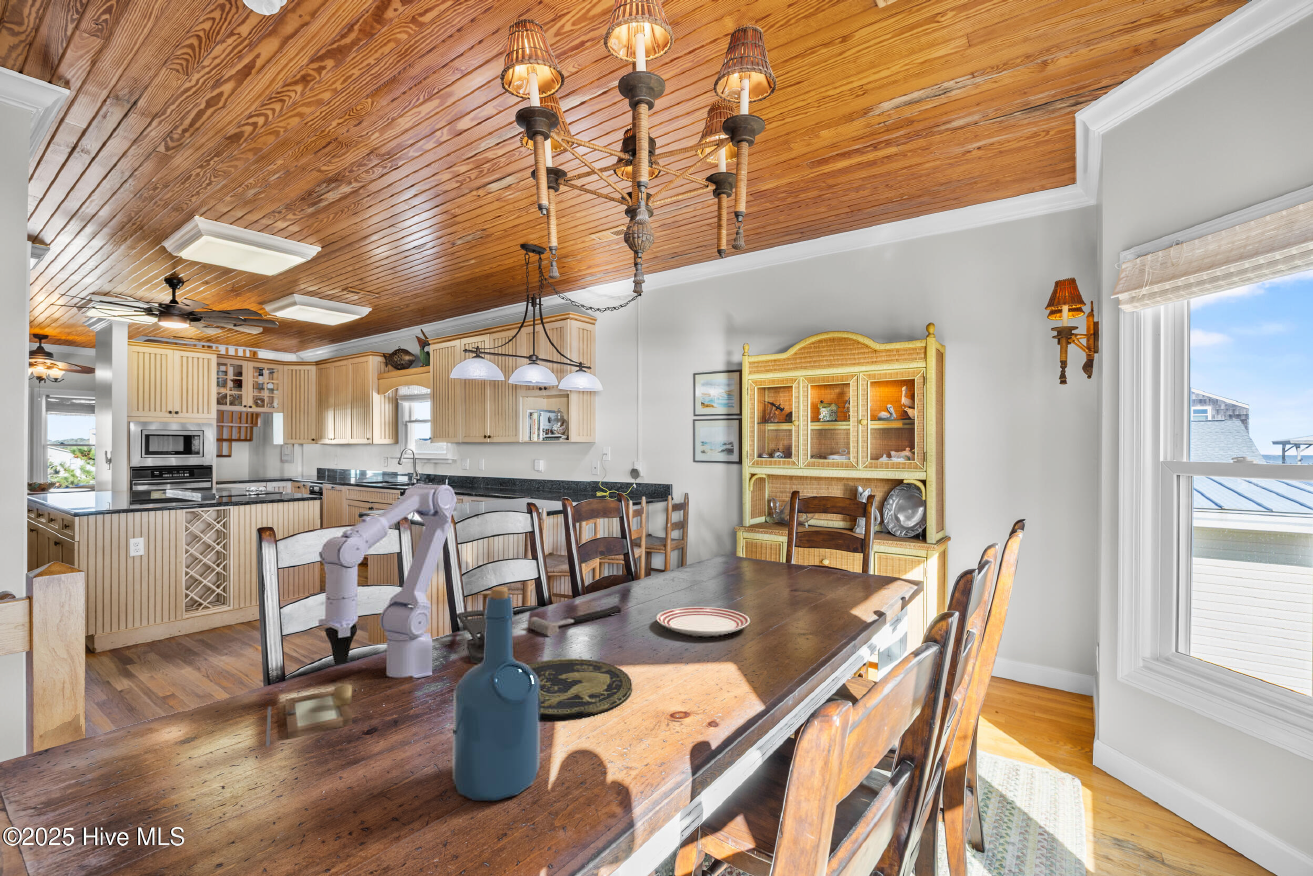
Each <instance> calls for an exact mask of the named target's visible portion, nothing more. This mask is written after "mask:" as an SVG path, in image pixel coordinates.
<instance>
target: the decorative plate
mask: <svg viewBox="0 0 1313 876" xmlns="http://www.w3.org/2000/svg"><path fill="white" fill-rule="evenodd" d="M525 664H526V663H525ZM526 665H528V666H529V667H530V668H531V669H532V670H533V671H534V673H535V674H536V675H537V676H538V678H539V681H540V683H541V705H540V722H567V721H577V720H583V719H582V718H584V719H587V718H592V717H591V716H593V717H596V716H595V715H597V716H599V715H598V714H600V715H602V713H603V714H606V713H608V712H610V711H613V710H615V709H616V707H617V708H618V706H619V707H620V706H621V705H623V704H624V703H626V701H627V700H628V699H629V698H630V697H631V696H632V695H631V694H632V692H633V684H632V683H633V682H632V679H631V677H630V676H629V674H628V673H626V672H625V671H624V670H623V669H621V668H619V667H618V666H615V665H613V664H611V663H610V664H609V663H607V662H604V661H599V660H593V659H584V658H557V659H555V658H554V659H545V660H541V661H535V662H531V663H527V664H526ZM614 708H615V709H614ZM605 712H606V713H605ZM576 719H577V720H576Z"/></svg>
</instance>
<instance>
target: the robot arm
mask: <svg viewBox="0 0 1313 876" xmlns="http://www.w3.org/2000/svg"><path fill="white" fill-rule="evenodd" d="M457 500H458V499H457V497H456V493H455V491H454V489H453V488H452V486H450V485H447V484H423V483H415V484H414V485H412V486H411V487H409V488H408V489H405V492H404V494H403V495H401V497H399V499H398V500H396V501H395V502H394V503H392V504H391V505H390V506H388V507H387V508H386V509H385V510H384V511H382V512H380V514H379V515H373V514H372V515H371V514H370V515H364V516H362V517H361V518H360V521H359V522H358V523H357V524H355V525H353V526H352V527H351V528H349V529H345V530H344V531H342V534H341V535H340V536H333V537H330V538H329V539H327V540H326V542H325V543H324V544H323V545H322V548H321V550H320V551H319V552H318V557H319V559H320V561H321V562H322V563H323V565H324V572H325V600H324V601H325V605H324V606H325V609H324V610H325V611H324V612H325V615H324V618H320V619H318V626H326V628H325V629H324V632H325V636H326V638H327V639H328V641H329V644H330V647H331V651H332V652H331V654H332V658H333V663H334V665H335V666H338V665H343V664H347V662H348V660H349V655H350V650H351V645H352V642H353V640H354V638H355V636H356V634H357V632H358V628H357V624H356V623H357V621H358V620H359V615H358V567H359V566H358V565H359V564H361V562H362V561H363V560H364V557H365V555H366V553H367V552H368V551H369V550H370V549H371V548H373V547H374V546H375V545H376V544H377V543H379V542H380V541H382V540H383V539H384V538H385V537H387V536H388V533H389V528H391V527H392V526H394V525H395V524H396V523H399V521H401V520H402V519H404V518H406V517H407V516H409V515H410V514H413V513H415V514H416V515H417V516H418V517H419V518H420V520H422V522H423V524H424V529H423V532H422V534H421V537H420V540H419V543H418V545H417V547H416V550H415V553H414V556H413V558H412V561H411V563H410V567H409V569H408V571H407V575H406V577H405V580H404V582H403V585H402V588H401V590H400V591H399V592H397V593H395V594H394V595H392V596H391V598H390V600H389V601H388V604H387V605H386V606H385V608H384V609H383V610H382V612H381V614H380V618H379V626H380V628H381V630H383V631H384V636H385V637H387V638H386V673H385V674H386V676H387V677H389V678H390V677H391V678H396V679H397V678H406V677H410V676H411V677H413V678H415V679H420V678H424V677H430V676H432V675H433V671H432V670H433V667H432V665H433V640H432V635H431V633H430V632H426V630H427V629H428V627H429V624H430V612H431V609H432V605H431V603H430V601H429V599H428V598H427V596H426V595H427V592H428V589H429V587H430V585H431V582H432V578H433V576H434V573H435V570H436V567H437V564H438V562H439V559H440V556H441V553H442V550H443V548H444V544H445V541H446V539H447V537H448V533H449V531H450V527H451V523H452V515H453V512H454V509H455V506H456V504H457ZM411 606H412V607H411Z"/></svg>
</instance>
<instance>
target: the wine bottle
mask: <svg viewBox="0 0 1313 876" xmlns="http://www.w3.org/2000/svg"><path fill="white" fill-rule="evenodd" d="M490 591H491V592H490V593H491V594H490V595H489V596H488V597H487V598H486V606H485V611H486V612H485V615H486V616H485V617H484V618H485V619H486V630H485V648H484V660H483V661H482V663H480V664H476V665H473V666H471V668H469V669H468V670H467V671H466V672H465V674H464V675H463V676H462V677H461V678H460V679H459V680H458V682H457V683H456V685H455V688H454V690H453V709H452V710H453V712H452V714H453V715H452V720H453V721H452V763H451V765H452V766H451V767H452V771H451V773H452V776H451V778H452V780H453V783H454V786H455V788H456V790H457V792H458V794H459V795H462V796H463V797H466V798H468V799H470V800H472V801H491V802H492V801H500V800H503V799H506V798H511V797H513V796H517V795H519V794H520V793H522V792H523V791H525V790H526V789H528V788H529V787H530V786H532V785H533V784H534V781H535V779H536V777H537V774H538V771H539V768H540V766H541V765H540V763H541V721H540V705H541V683H540V681H539V678H538V676H537V675H536V674H535V673H534V671H533V670H532V669H531V668H530V667H529V666H528V665H526V663H524V662H523V661H518V660H516V659H515V658H514V652H513V651H514V650H513V649H514V647H513V645H514V644H513V618H514V616H515V614H514V610H513V599H512V596H511V595H510V594H509V590H508V587H506V586H494V587H492V588H491V589H490Z"/></svg>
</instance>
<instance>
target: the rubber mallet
mask: <svg viewBox="0 0 1313 876" xmlns="http://www.w3.org/2000/svg"><path fill="white" fill-rule="evenodd" d="M621 609H622V608H621V607H620V606H619V605H617V604H616V605H613V606H611V607H608V608H604V609H600V610H596V611H591V612H586V613H584V614H580V615H576V616H573V617H570V618H567V619H562V620H558V621H555V622H554V621H553V622H550V621H548V620H545V619H542V618H539V617H536V616H533V617H531V618H530V620H528V623H527V626H528V629H529V628H530V629H529V630H531V629H533V630H535V631H534V632H536V631H538V632H540V633H539V634H541V633H543V634H545V635H544V636H546V635H547V636H546V637H548V636H550V635H553V634H557V633H559V630H560V629H559V627H560V626H565V625H569V624H578V623H582V622H581V621H584V622H587V621H586V620H589V621H591V620H590V619H594V618H598V619H600V618H599V617H602V618H604V617H603V616H607V617H609V616H608V615H611V614H615V613H620V612H621V613H622V610H621ZM621 613H620V614H621ZM594 620H595V619H594ZM577 622H578V623H577ZM533 630H532V631H533ZM538 632H537V633H538ZM543 634H542V635H543ZM557 635H558V634H557Z"/></svg>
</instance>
